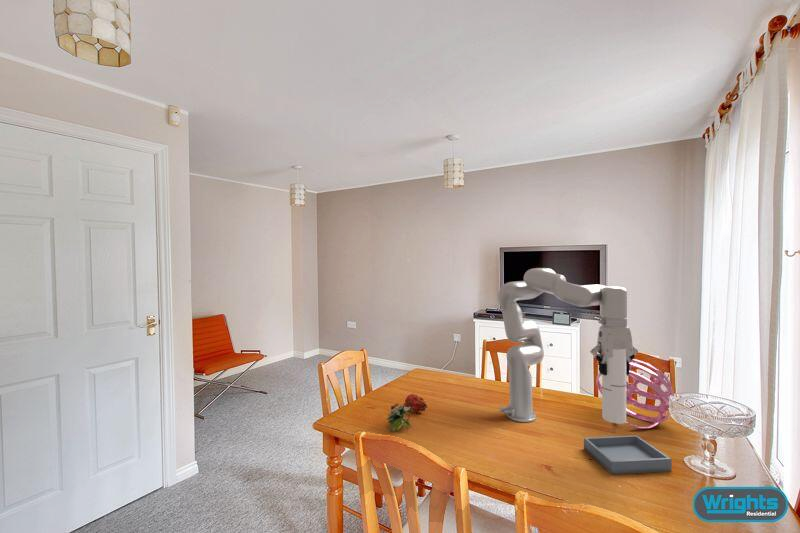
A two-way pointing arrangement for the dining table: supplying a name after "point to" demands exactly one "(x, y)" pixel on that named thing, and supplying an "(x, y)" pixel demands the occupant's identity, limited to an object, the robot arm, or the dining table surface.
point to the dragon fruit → (415, 403)
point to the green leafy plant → (398, 417)
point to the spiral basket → (646, 393)
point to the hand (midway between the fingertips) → (614, 373)
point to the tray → (627, 454)
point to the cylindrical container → (615, 388)
